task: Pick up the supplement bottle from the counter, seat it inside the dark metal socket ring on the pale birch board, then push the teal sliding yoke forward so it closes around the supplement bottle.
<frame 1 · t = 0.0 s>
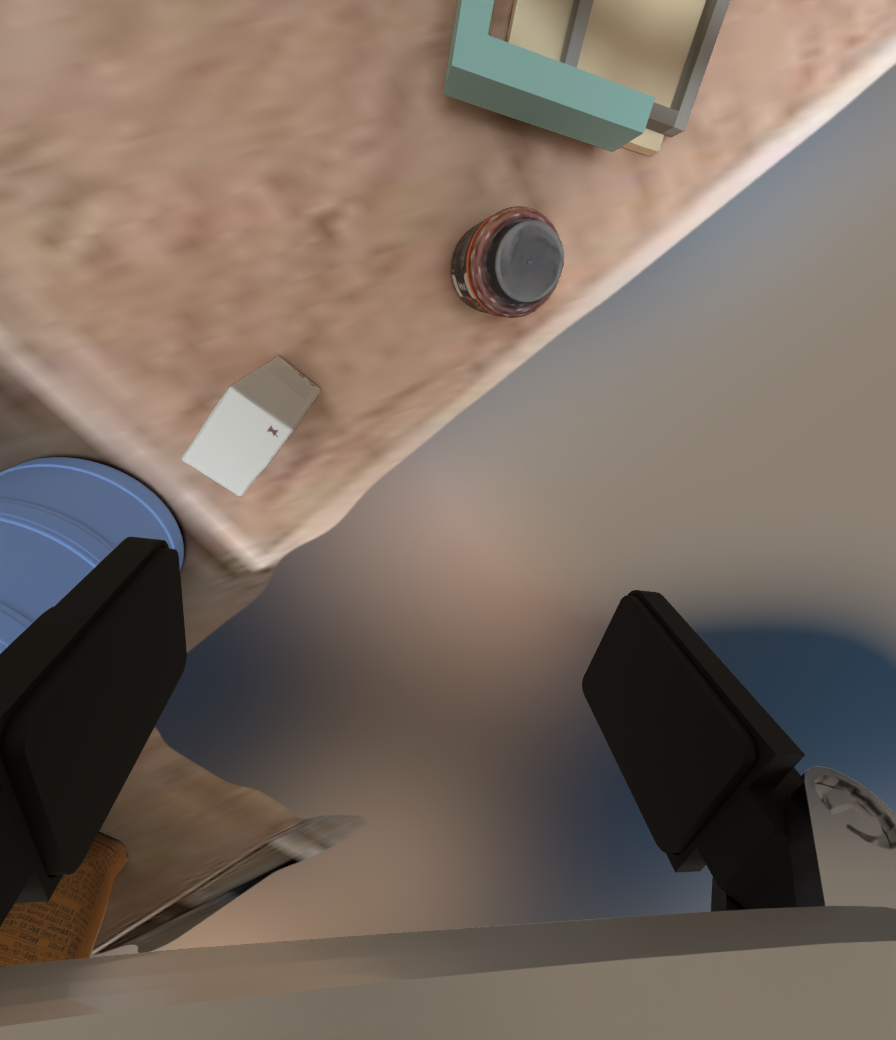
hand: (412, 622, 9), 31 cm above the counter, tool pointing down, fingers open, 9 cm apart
supplement bottle: (486, 269, 34), on the counter
pancake mix bag: (83, 831, 60), on the counter
housing base: (603, 23, 28), on the counter
skincare box: (280, 399, 37), on the counter
water jug: (96, 532, 40), on the counter
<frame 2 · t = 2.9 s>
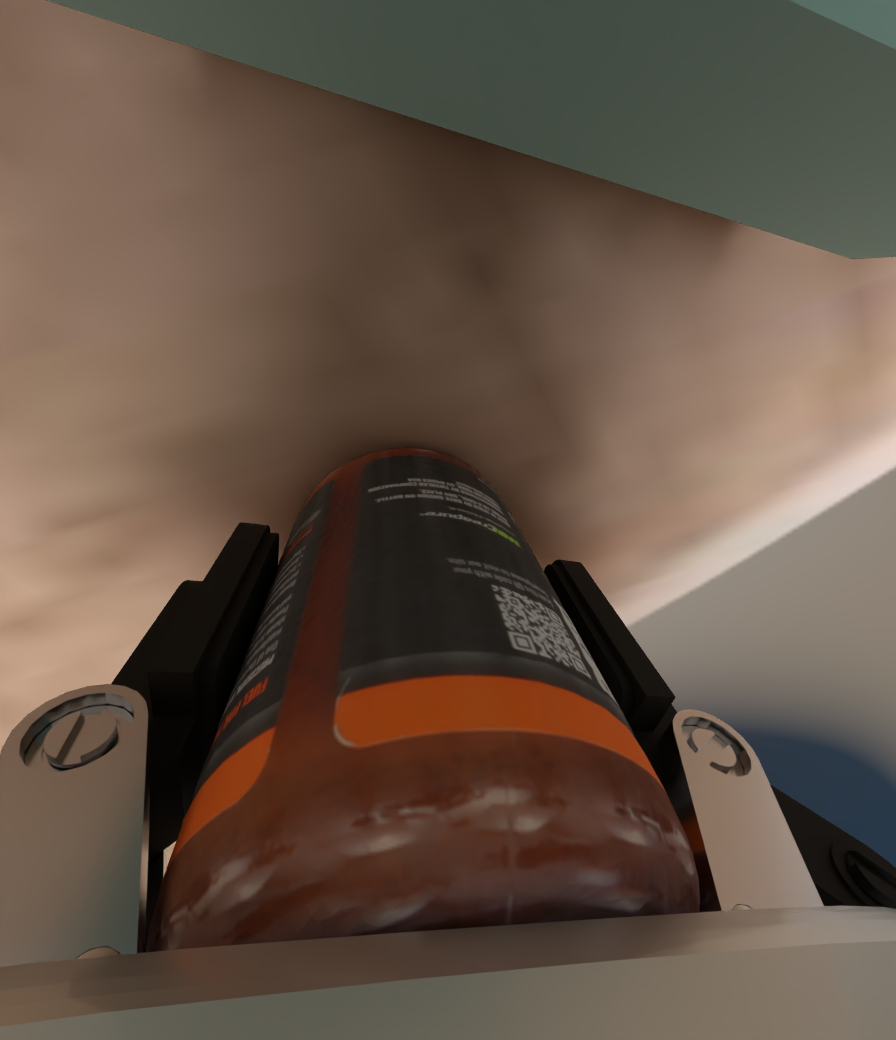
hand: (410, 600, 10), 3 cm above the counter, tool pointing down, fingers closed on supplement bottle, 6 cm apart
supplement bottle: (406, 538, 12), on the counter, touching gripper
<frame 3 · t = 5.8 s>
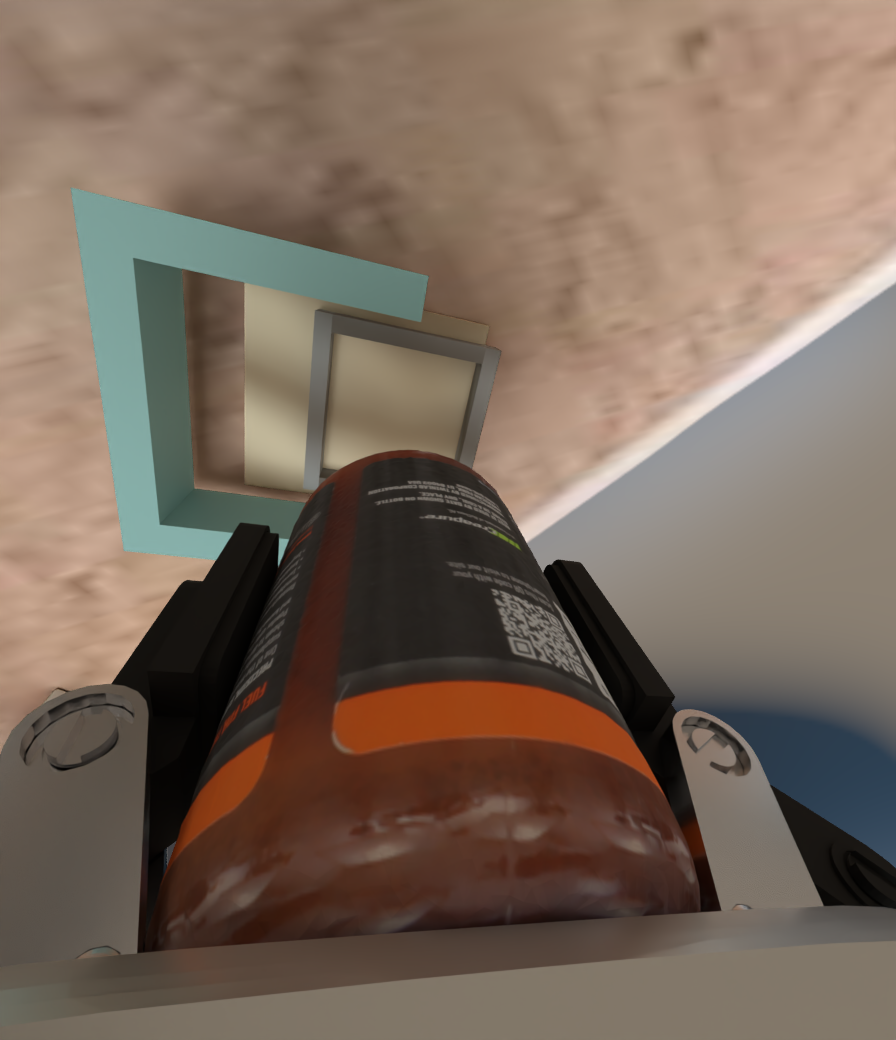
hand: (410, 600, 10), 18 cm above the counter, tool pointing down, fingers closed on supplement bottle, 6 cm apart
supplement bottle: (406, 540, 12), point 15 cm above the counter, touching gripper
yoke: (271, 415, 20), point 5 cm above the counter, slide at 0.0 cm
housing base: (362, 404, 25), on the counter
when the fingers open (4 cm above the counter, at t = 8.5 s): supplement bottle stays where it is, resting on housing base.
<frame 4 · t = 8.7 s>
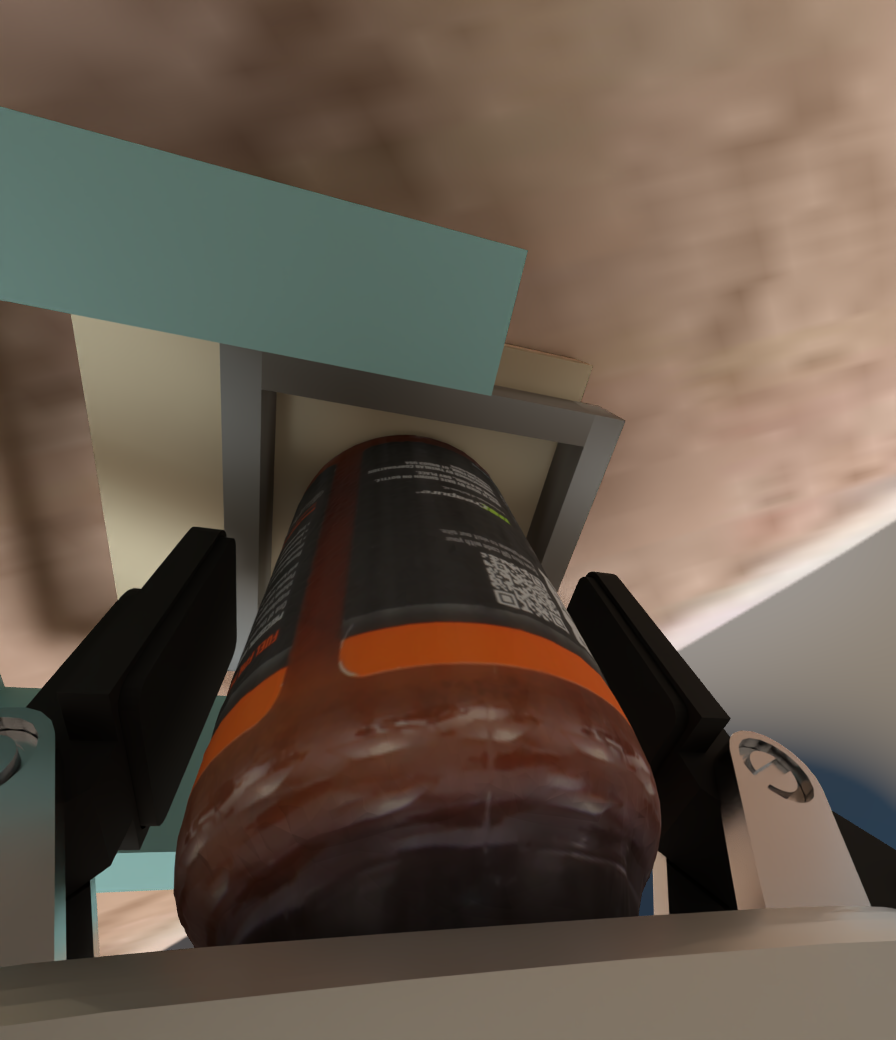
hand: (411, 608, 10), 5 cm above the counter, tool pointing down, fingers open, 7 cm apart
supplement bottle: (404, 522, 13), point 1 cm above the counter, touching housing base
yoke: (115, 589, 8), point 5 cm above the counter, slide at 0.0 cm
housing base: (340, 503, 13), on the counter
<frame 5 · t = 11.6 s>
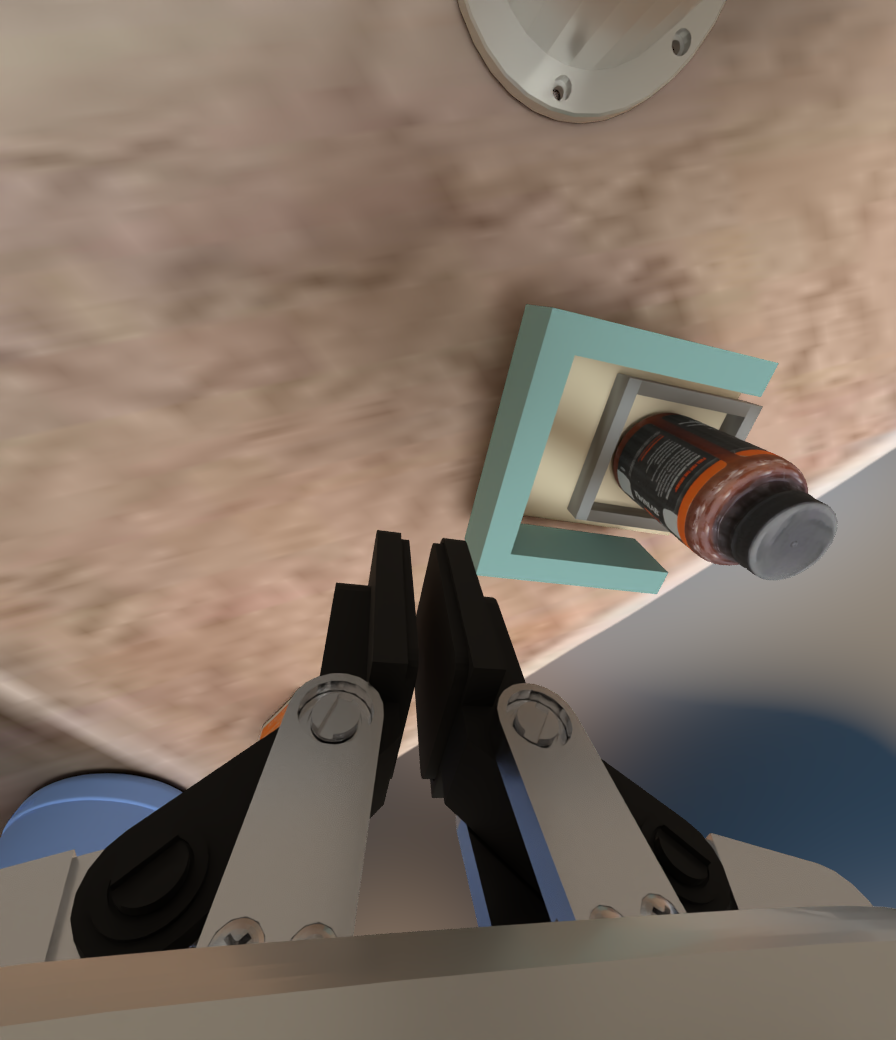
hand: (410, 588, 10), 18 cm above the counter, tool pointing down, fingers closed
supplement bottle: (651, 453, 29), point 1 cm above the counter, touching housing base
yoke: (598, 464, 24), point 5 cm above the counter, slide at 0.0 cm
housing base: (617, 446, 29), on the counter
skincare box: (301, 713, 38), on the counter
water jug: (121, 815, 41), on the counter
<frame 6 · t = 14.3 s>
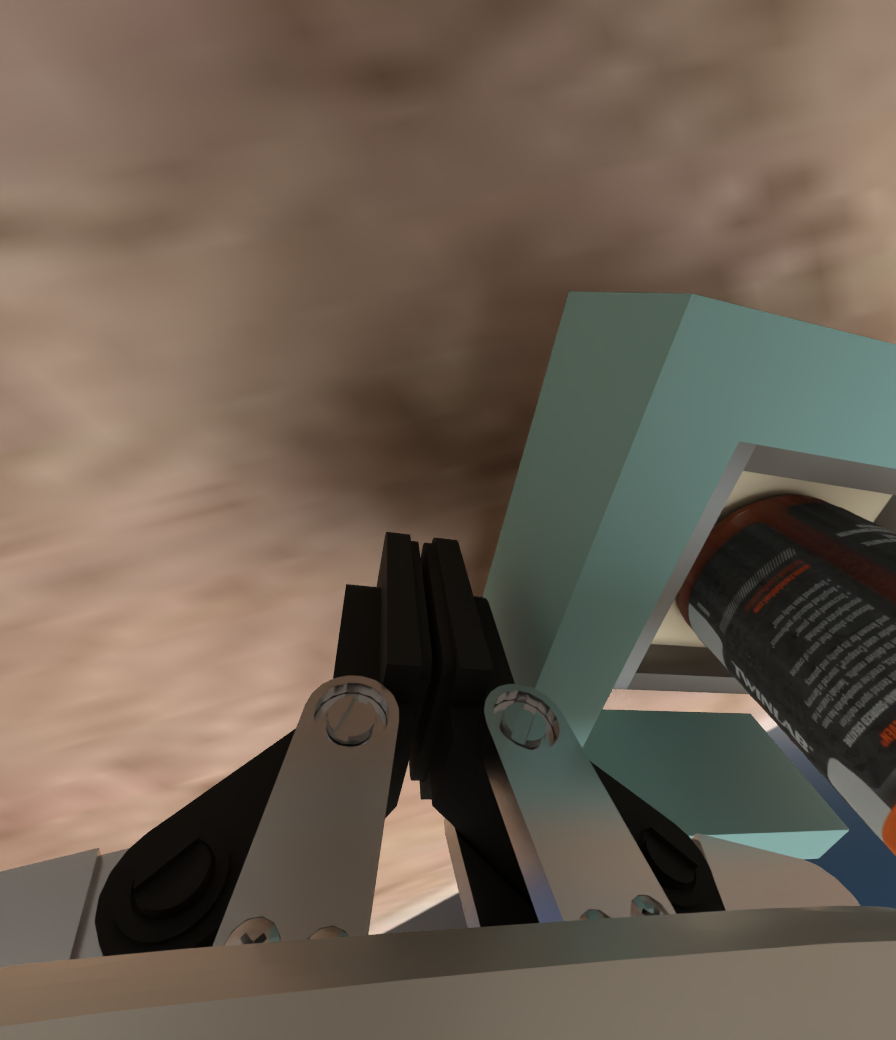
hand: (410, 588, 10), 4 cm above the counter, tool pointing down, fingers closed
supplement bottle: (745, 561, 15), point 1 cm above the counter, touching housing base
yoke: (721, 636, 11), point 5 cm above the counter, slide at 1.6 cm, touching gripper
housing base: (679, 544, 16), on the counter
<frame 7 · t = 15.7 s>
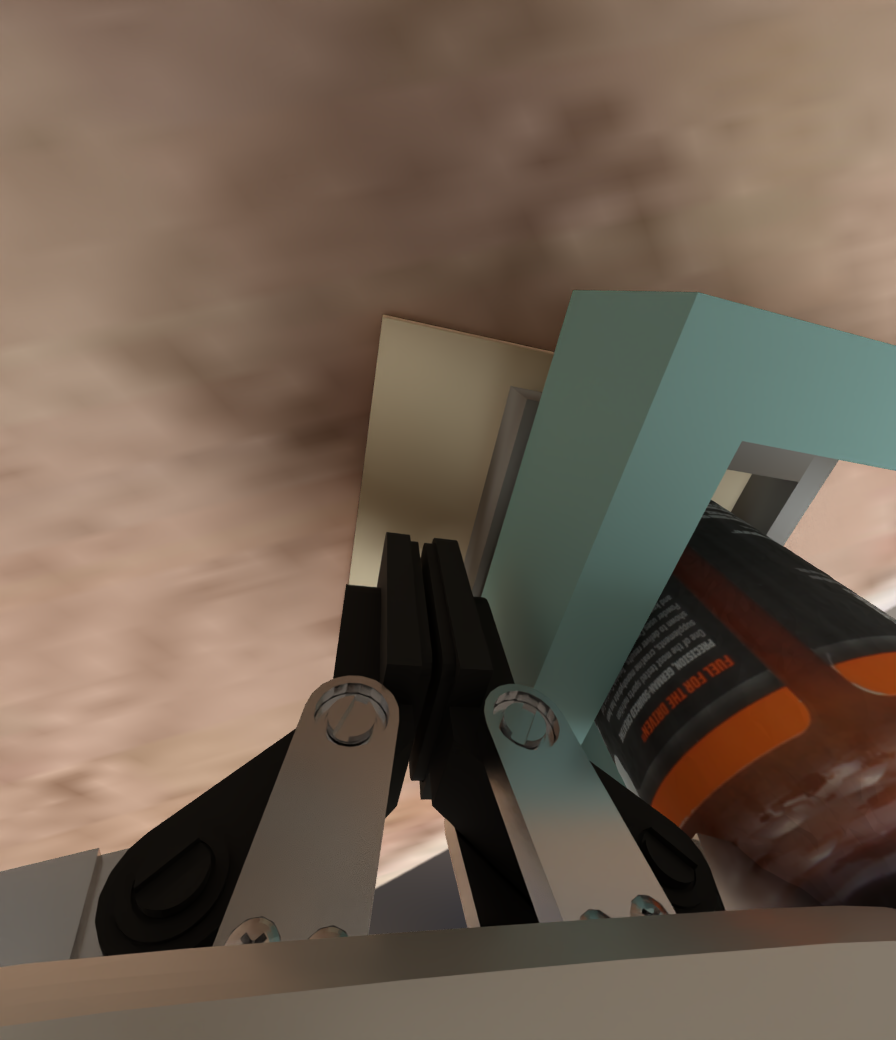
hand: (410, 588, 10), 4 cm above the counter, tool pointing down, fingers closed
supplement bottle: (608, 546, 14), point 1 cm above the counter, touching housing base, yoke
yoke: (719, 637, 11), point 5 cm above the counter, slide at 7.2 cm, touching supplement bottle, gripper
housing base: (536, 527, 15), on the counter
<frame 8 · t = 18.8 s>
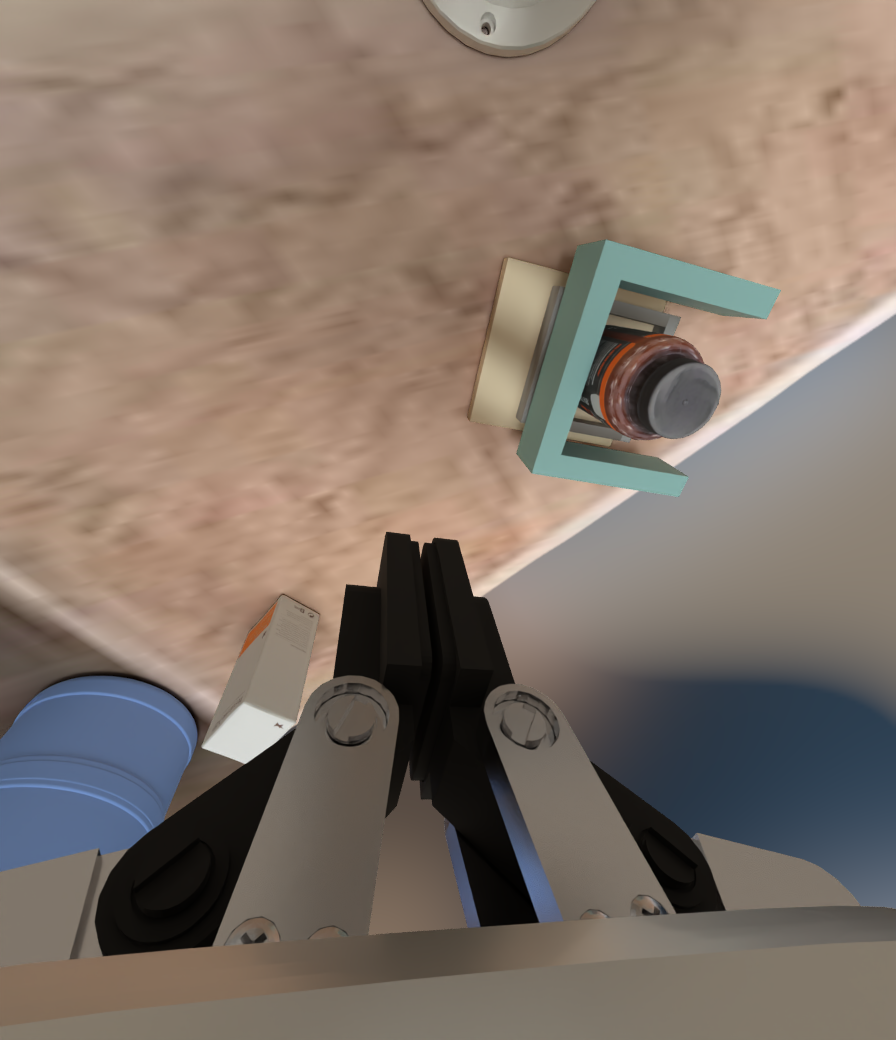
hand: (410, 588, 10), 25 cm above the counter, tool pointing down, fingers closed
supplement bottle: (592, 366, 32), point 1 cm above the counter, touching housing base
yoke: (632, 381, 29), point 5 cm above the counter, slide at 7.3 cm
housing base: (559, 360, 33), on the counter
skincare box: (283, 621, 42), on the counter
water jug: (120, 722, 45), on the counter
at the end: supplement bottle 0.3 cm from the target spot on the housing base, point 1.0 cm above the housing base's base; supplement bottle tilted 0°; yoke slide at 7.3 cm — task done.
